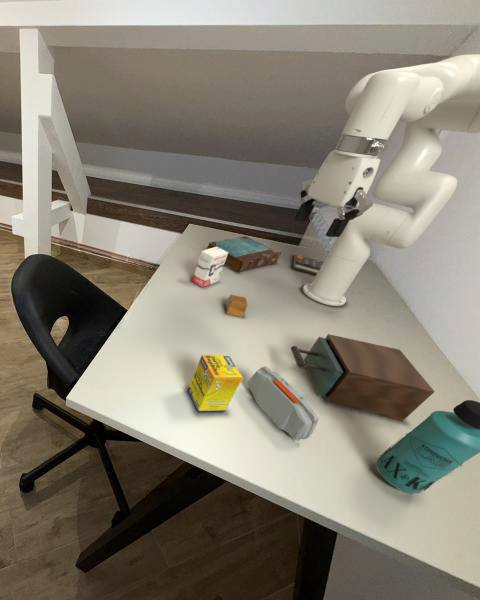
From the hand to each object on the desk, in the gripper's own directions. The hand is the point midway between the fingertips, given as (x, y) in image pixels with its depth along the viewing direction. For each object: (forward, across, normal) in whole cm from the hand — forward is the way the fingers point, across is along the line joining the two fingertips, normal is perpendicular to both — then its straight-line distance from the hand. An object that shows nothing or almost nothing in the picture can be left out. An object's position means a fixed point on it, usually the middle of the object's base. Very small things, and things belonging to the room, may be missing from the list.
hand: (315, 228), depth 72 cm
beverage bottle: (+31, -41, +3) cm, 52 cm away
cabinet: (+30, -22, -8) cm, 38 cm away
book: (+30, +44, -21) cm, 57 cm away
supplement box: (+31, -22, +29) cm, 48 cm away
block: (+30, +9, +4) cm, 32 cm away
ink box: (+30, +26, +4) cm, 40 cm away
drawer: (+29, -20, -3) cm, 36 cm away
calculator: (+29, +37, -48) cm, 67 cm away
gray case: (+31, -26, +17) cm, 44 cm away
